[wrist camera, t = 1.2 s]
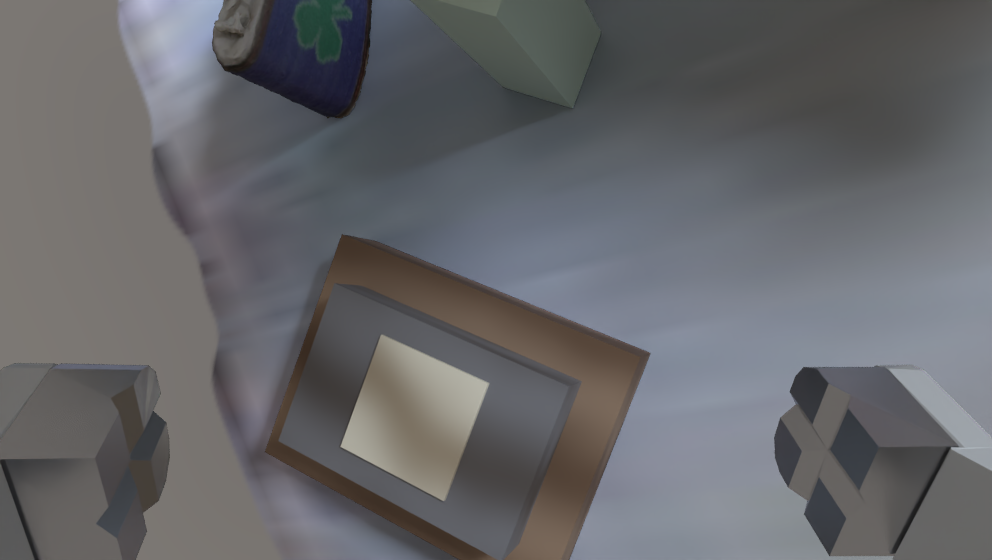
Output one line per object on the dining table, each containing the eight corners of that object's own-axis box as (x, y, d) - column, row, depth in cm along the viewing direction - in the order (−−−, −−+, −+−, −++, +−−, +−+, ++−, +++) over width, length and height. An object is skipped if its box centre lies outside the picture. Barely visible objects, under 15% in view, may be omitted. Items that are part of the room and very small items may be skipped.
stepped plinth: (375, 240, 40) (311, 228, 34) (650, 353, 35) (631, 360, 29) (303, 440, 41) (229, 462, 35) (561, 578, 36) (525, 630, 30)
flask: (336, -41, 42) (205, -154, 31) (382, -42, 41) (262, -159, 31) (316, 119, 42) (178, 57, 31) (361, 122, 41) (233, 58, 31)
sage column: (530, 13, 38) (437, -116, 26) (601, 32, 36) (536, -95, 25) (503, 87, 38) (399, -10, 27) (572, 108, 37) (495, 16, 25)
